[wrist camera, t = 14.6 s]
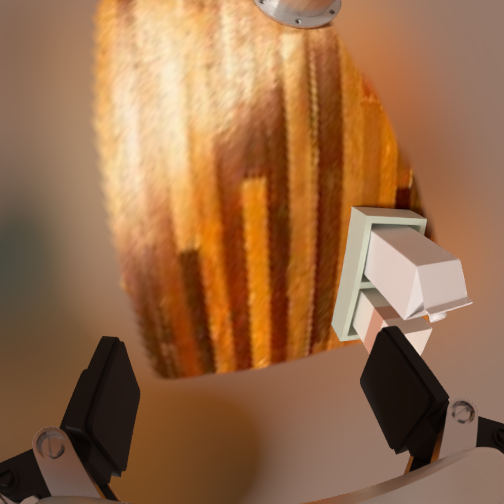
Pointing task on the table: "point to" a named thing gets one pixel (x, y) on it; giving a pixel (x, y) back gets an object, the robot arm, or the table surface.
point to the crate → (363, 260)
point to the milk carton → (414, 272)
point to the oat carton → (385, 320)
